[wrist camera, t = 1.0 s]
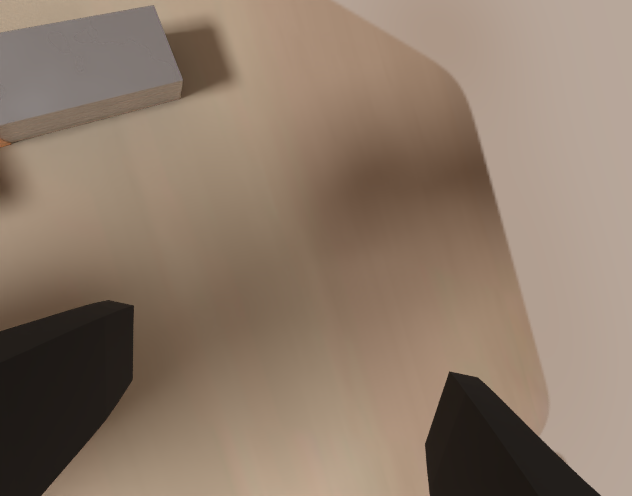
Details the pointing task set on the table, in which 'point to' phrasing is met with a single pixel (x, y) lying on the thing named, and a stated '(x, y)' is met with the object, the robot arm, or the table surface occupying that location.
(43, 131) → the brushed steel block
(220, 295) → the table surface
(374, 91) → the table surface
